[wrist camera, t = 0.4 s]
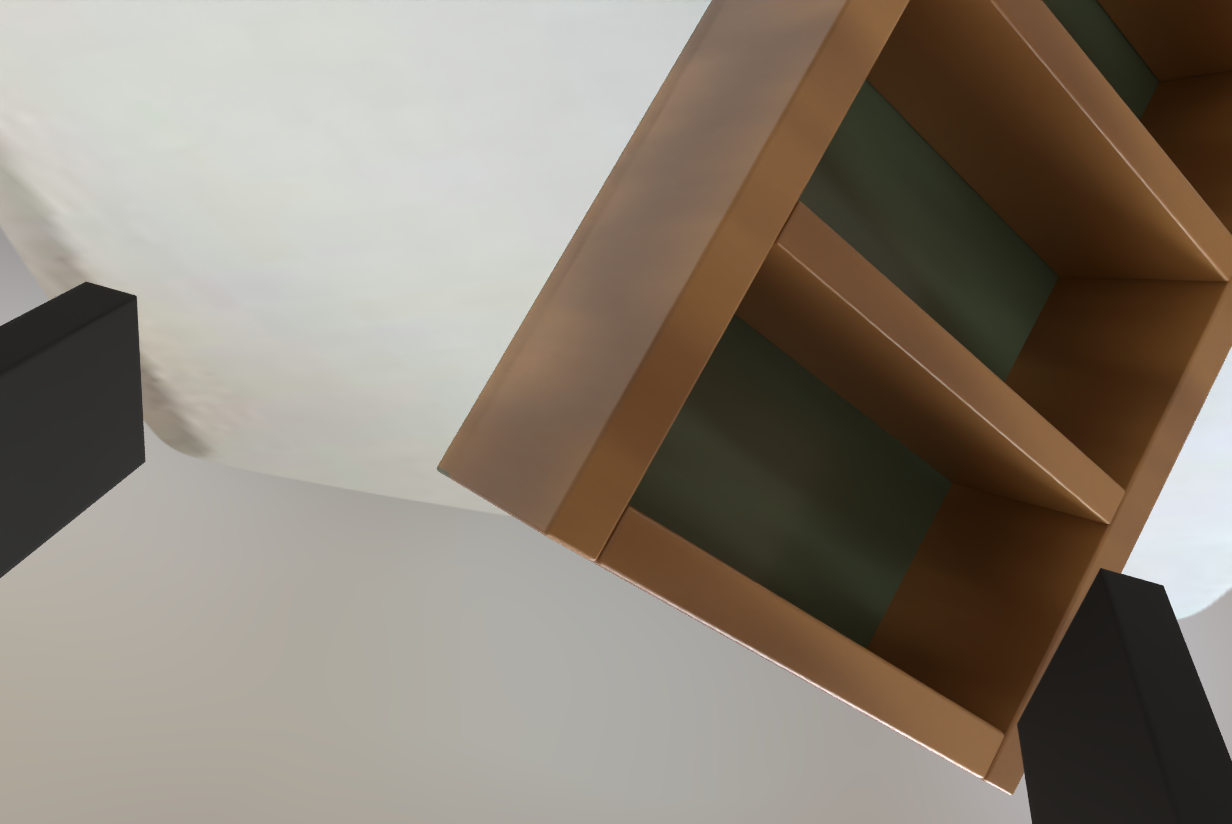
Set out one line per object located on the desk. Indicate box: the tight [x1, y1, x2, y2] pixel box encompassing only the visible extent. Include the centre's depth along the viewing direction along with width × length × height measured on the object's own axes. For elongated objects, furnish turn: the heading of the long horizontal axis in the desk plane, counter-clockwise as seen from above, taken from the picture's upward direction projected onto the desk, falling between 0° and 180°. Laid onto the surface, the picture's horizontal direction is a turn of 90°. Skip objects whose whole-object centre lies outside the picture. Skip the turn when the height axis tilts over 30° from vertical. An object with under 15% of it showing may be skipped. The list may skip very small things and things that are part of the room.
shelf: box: [437, 0, 1232, 795], centre depth 21 cm, size 5×12×18 cm
